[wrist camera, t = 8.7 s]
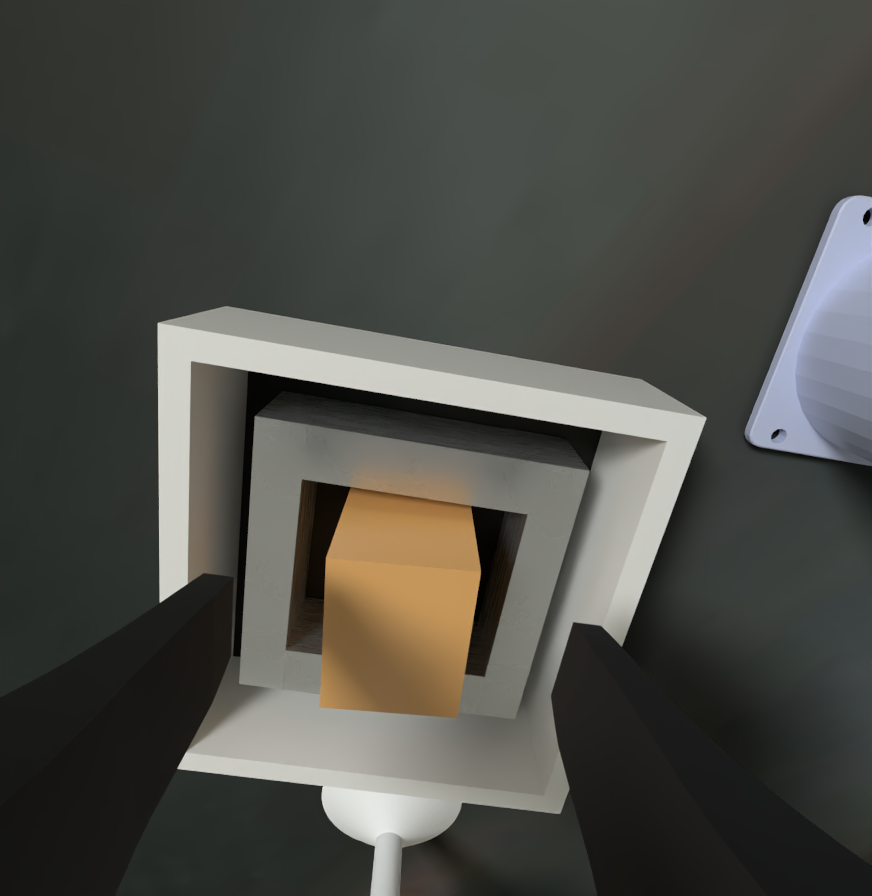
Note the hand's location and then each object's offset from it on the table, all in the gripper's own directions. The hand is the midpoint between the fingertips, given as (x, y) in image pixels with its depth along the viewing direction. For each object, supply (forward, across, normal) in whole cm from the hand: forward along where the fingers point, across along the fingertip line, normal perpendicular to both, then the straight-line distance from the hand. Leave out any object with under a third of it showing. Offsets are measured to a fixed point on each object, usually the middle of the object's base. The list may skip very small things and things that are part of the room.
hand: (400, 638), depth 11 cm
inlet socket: (+8, 0, +3) cm, 9 cm away
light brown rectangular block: (+9, 0, +2) cm, 9 cm away
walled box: (+8, 0, +3) cm, 9 cm away
